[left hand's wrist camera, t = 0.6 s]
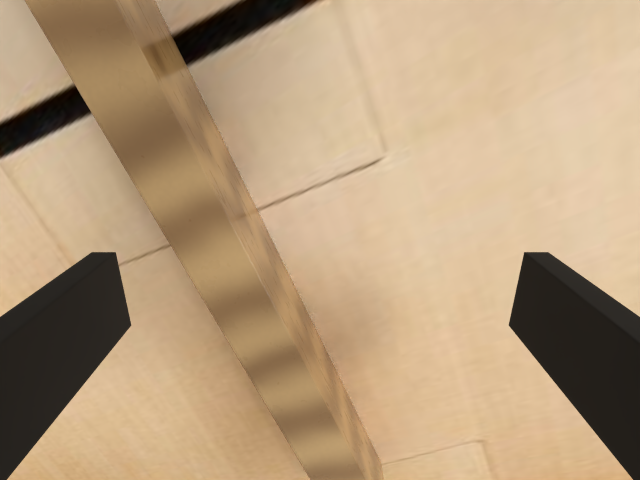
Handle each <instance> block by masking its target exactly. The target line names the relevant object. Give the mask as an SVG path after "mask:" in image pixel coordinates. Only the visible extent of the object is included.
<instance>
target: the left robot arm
mask: <svg viewBox="0 0 640 480" xmlns="http://www.w3.org/2000/svg"><path fill="white" fill-rule="evenodd" d="M130 326H131V322H130V317H129V313H128V308H127V303H126V299H125V294H124V289H123V285H122V280H121V275H120V270H119V266H118V261H117V256H116V252H92V253H90V254H89V255H87V256H86V257H85V258H83V259H82V260H80V261H79V262H77V263H76V264H75V265H73V266H72V267H70V268H69V269H68V270H66V271H65V272H63V273H62V274H60V275H59V276H58V277H56V278H55V279H53V280H52V281H51V282H49V283H48V284H46V285H45V286H43V287H42V288H41V289H39V290H38V291H36V292H35V293H34V294H32V295H31V296H29V297H28V298H26V299H25V300H24V301H22V302H21V303H19V304H18V305H17V306H15V307H14V308H12V309H11V310H9V311H8V312H7V313H5V314H4V315H2V316H1V317H0V480H7V479H8V477H9V476H10V475H11V474H12V472H13V471H14V470H15V469H16V467H17V466H18V465H19V464H20V463H21V461H22V460H23V459H24V458H25V456H26V455H27V454H28V453H29V451H30V450H31V449H32V448H33V446H34V445H35V444H36V443H37V441H38V440H39V439H40V438H41V437H42V435H43V434H44V433H45V432H46V430H47V429H48V428H49V427H50V425H51V424H52V423H53V422H54V420H55V419H56V418H57V417H58V415H59V414H60V413H61V412H62V410H63V409H64V408H65V407H66V406H67V404H68V403H69V402H70V401H71V399H72V398H73V397H74V396H75V394H76V393H77V392H78V391H79V389H80V388H81V387H82V386H83V384H84V383H85V382H86V381H87V379H88V378H89V377H90V376H91V375H92V373H93V372H94V371H95V370H96V368H97V367H98V366H99V365H100V363H101V362H102V361H103V360H104V358H105V357H106V356H107V355H108V353H109V352H110V351H111V350H112V348H113V347H114V346H115V345H116V344H117V342H118V341H119V340H120V339H121V337H122V336H123V335H124V334H125V332H126V331H127V330H128V329H129V327H130ZM509 326H510V327H511V329H512V330H513V331H514V332H515V334H516V335H517V336H518V337H519V339H520V340H521V341H522V342H523V344H524V345H525V346H526V347H527V348H528V350H529V351H530V352H531V353H532V355H533V356H534V357H535V358H536V360H537V361H538V362H539V363H540V365H541V366H542V367H543V368H544V370H545V371H546V372H547V373H548V375H549V376H550V377H551V378H552V379H553V381H554V382H555V383H556V384H557V386H558V387H559V388H560V389H561V391H562V392H563V393H564V394H565V396H566V397H567V398H568V399H569V401H570V402H571V403H572V404H573V406H574V407H575V408H576V409H577V410H578V412H579V413H580V414H581V415H582V417H583V418H584V419H585V420H586V422H587V423H588V424H589V425H590V427H591V428H592V429H593V430H594V432H595V433H596V434H597V435H598V437H599V438H600V439H601V440H602V441H603V443H604V444H605V445H606V446H607V448H608V449H609V450H610V451H611V453H612V454H613V455H614V456H615V458H616V459H617V460H618V461H619V463H620V464H621V465H622V466H623V468H624V469H625V470H626V471H627V472H628V474H629V475H630V476H631V477H632V479H633V480H640V317H639V316H638V315H636V314H635V313H633V312H632V311H631V310H629V309H628V308H626V307H625V306H623V305H622V304H621V303H619V302H618V301H616V300H615V299H614V298H612V297H611V296H609V295H608V294H606V293H605V292H604V291H602V290H601V289H599V288H598V287H597V286H595V285H594V284H592V283H591V282H589V281H588V280H587V279H585V278H584V277H582V276H581V275H580V274H578V273H577V272H575V271H574V270H572V269H571V268H570V267H568V266H567V265H565V264H564V263H563V262H561V261H560V260H558V259H557V258H555V257H554V256H553V255H551V254H550V253H548V252H524V256H523V261H522V266H521V270H520V275H519V280H518V284H517V289H516V294H515V299H514V303H513V308H512V313H511V317H510V322H509Z"/></svg>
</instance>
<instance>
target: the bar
mask: <svg viewBox="0 0 640 480" xmlns="http://www.w3.org/2000/svg"><path fill="white" fill-rule="evenodd" d="M25 2H26V3H27V5H28V7H29V8H30V10H31V12H32V13H33V15H34V17H35V18H36V20H37V22H38V23H39V25H40V27H41V29H42V30H43V32H44V34H45V35H46V37H47V39H48V40H49V42H50V44H51V45H52V47H53V49H54V50H55V52H56V54H57V55H58V57H59V59H60V60H61V62H62V64H63V65H64V67H65V69H66V70H67V72H68V74H69V75H70V77H71V79H72V80H73V82H74V84H75V86H76V87H77V89H78V91H79V92H80V94H81V96H82V97H83V99H84V101H85V102H86V104H87V106H88V107H89V109H90V111H91V112H92V114H93V116H94V117H95V119H96V121H97V122H98V124H99V126H100V127H101V129H102V131H103V132H104V134H105V136H106V137H107V139H108V141H109V143H110V144H111V146H112V148H113V149H114V151H115V153H116V154H117V156H118V158H119V159H120V161H121V163H122V164H123V166H124V168H125V169H126V171H127V173H128V174H129V176H130V178H131V179H132V181H133V183H134V184H135V186H136V188H137V189H138V191H139V193H140V194H141V196H142V198H143V200H144V201H145V203H146V205H147V206H148V208H149V210H150V211H151V213H152V215H153V216H154V218H155V220H156V221H157V223H158V225H159V226H160V228H161V230H162V231H163V233H164V235H165V236H166V238H167V240H168V241H169V243H170V245H171V246H172V248H173V250H174V251H175V253H176V255H177V257H178V258H179V260H180V262H181V263H182V265H183V267H184V268H185V270H186V272H187V273H188V275H189V277H190V278H191V280H192V282H193V283H194V285H195V287H196V288H197V290H198V292H199V293H200V295H201V297H202V298H203V300H204V302H205V303H206V305H207V307H208V308H209V310H210V312H211V313H212V315H213V317H214V319H215V320H216V322H217V324H218V325H219V327H220V329H221V330H222V332H223V334H224V335H225V337H226V339H227V340H228V342H229V344H230V345H231V347H232V349H233V350H234V352H235V354H236V355H237V357H238V359H239V360H240V362H241V364H242V365H243V367H244V369H245V370H246V372H247V374H248V376H249V377H250V379H251V381H252V382H253V384H254V386H255V387H256V389H257V391H258V392H259V394H260V396H261V397H262V399H263V401H264V402H265V404H266V406H267V407H268V409H269V411H270V412H271V414H272V416H273V417H274V419H275V421H276V422H277V424H278V426H279V427H280V429H281V431H282V433H283V434H284V436H285V438H286V439H287V441H288V443H289V444H290V446H291V448H292V449H293V451H294V453H295V454H296V456H297V458H298V459H299V461H300V463H301V464H302V466H303V468H304V469H305V471H306V473H307V474H308V476H309V478H310V479H311V480H384V478H383V472H382V466H381V462H380V460H379V458H378V456H377V454H376V452H375V450H374V448H373V446H372V444H371V441H370V439H369V437H368V435H367V433H366V431H365V429H364V427H363V425H362V423H361V421H360V419H359V417H358V415H357V413H356V411H355V409H354V407H353V405H352V403H351V401H350V399H349V397H348V395H347V393H346V390H345V388H344V386H343V384H342V382H341V380H340V378H339V376H338V374H337V372H336V370H335V368H334V366H333V364H332V362H331V360H330V358H329V356H328V354H327V352H326V350H325V348H324V346H323V344H322V342H321V339H320V337H319V335H318V333H317V331H316V329H315V327H314V325H313V323H312V321H311V319H310V317H309V315H308V313H307V311H306V309H305V307H304V305H303V303H302V301H301V299H300V297H299V295H298V293H297V290H296V288H295V286H294V284H293V282H292V280H291V278H290V276H289V274H288V272H287V270H286V268H285V266H284V264H283V262H282V260H281V258H280V256H279V254H278V252H277V250H276V248H275V246H274V244H273V242H272V239H271V237H270V235H269V233H268V231H267V229H266V227H265V225H264V223H263V221H262V219H261V217H260V215H259V213H258V211H257V209H256V207H255V205H254V203H253V201H252V199H251V197H250V195H249V193H248V190H247V188H246V186H245V184H244V182H243V180H242V178H241V176H240V174H239V172H238V170H237V168H236V166H235V164H234V162H233V160H232V158H231V156H230V154H229V152H228V150H227V148H226V146H225V144H224V142H223V139H222V137H221V135H220V133H219V131H218V129H217V127H216V125H215V123H214V121H213V119H212V117H211V115H210V113H209V111H208V109H207V107H206V105H205V103H204V101H203V99H202V97H201V95H200V93H199V91H198V88H197V86H196V84H195V82H194V80H193V78H192V76H191V74H190V72H189V70H188V68H187V66H186V64H185V62H184V60H183V58H182V56H181V54H180V52H179V50H178V48H177V46H176V44H175V42H174V39H173V37H172V35H171V33H170V31H169V29H168V27H167V25H166V23H165V21H164V19H163V17H162V15H161V13H160V11H159V9H158V7H157V5H156V3H155V1H154V0H25Z"/></svg>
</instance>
